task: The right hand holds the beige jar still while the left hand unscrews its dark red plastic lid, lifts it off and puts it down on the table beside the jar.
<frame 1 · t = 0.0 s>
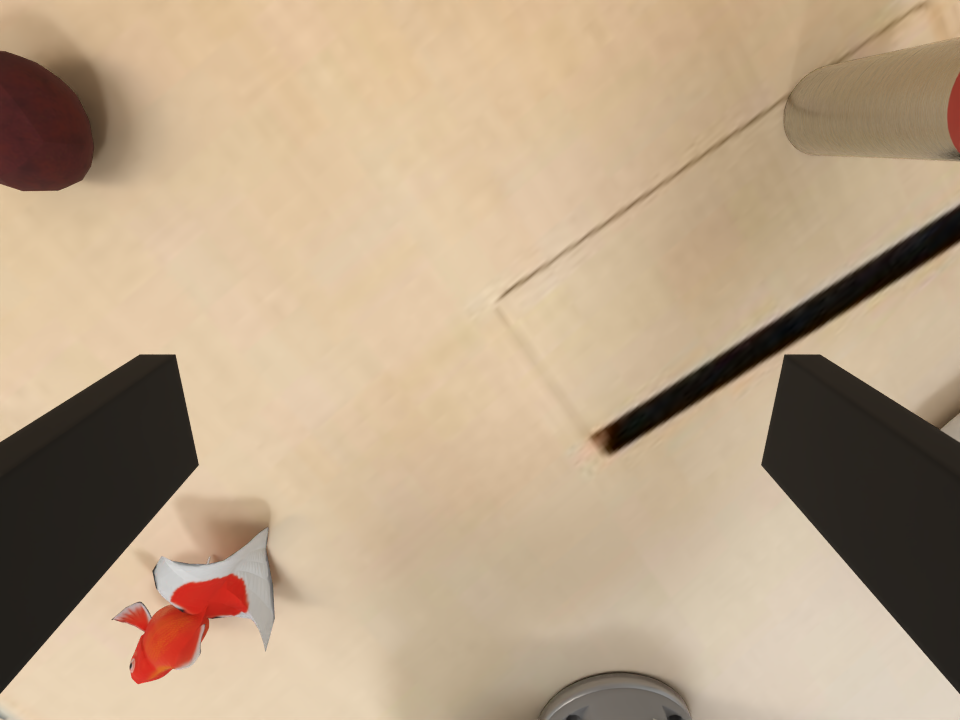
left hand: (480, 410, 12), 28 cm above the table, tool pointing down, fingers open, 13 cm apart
jar: (825, 111, 36), on the table
dark red ball: (62, 127, 36), on the table
fish: (220, 567, 49), on the table
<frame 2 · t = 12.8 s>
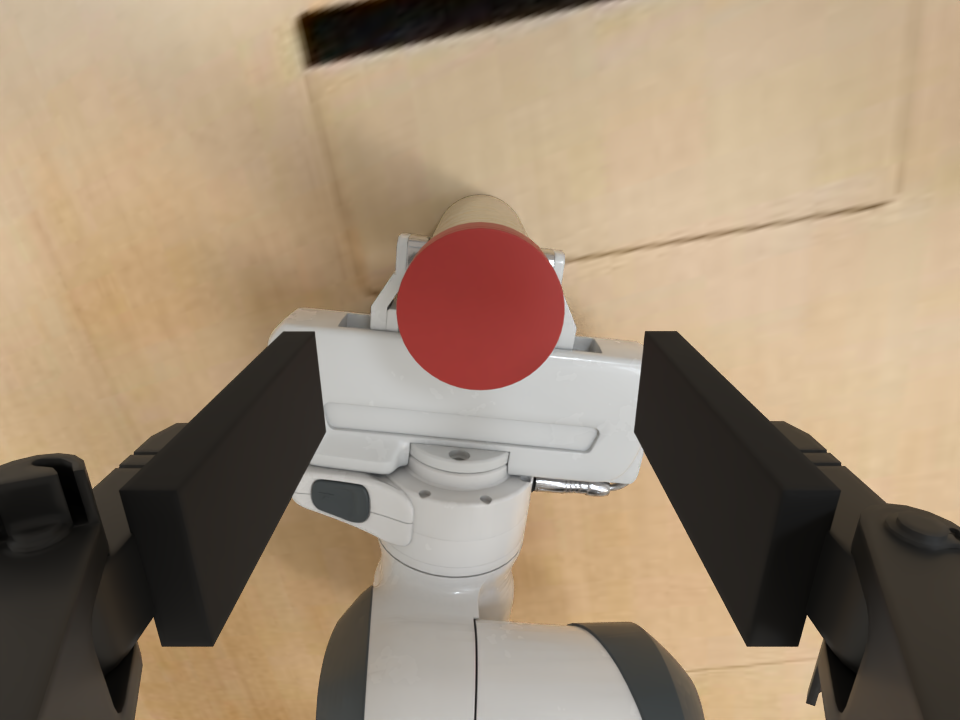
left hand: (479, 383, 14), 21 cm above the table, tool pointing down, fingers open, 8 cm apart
right hand: (481, 243, 27), fingers closed on jar, 5 cm apart
jar: (480, 240, 34), on the table, touching right hand
lid: (480, 311, 20), point 15 cm above the table, screwed on, not yet turned
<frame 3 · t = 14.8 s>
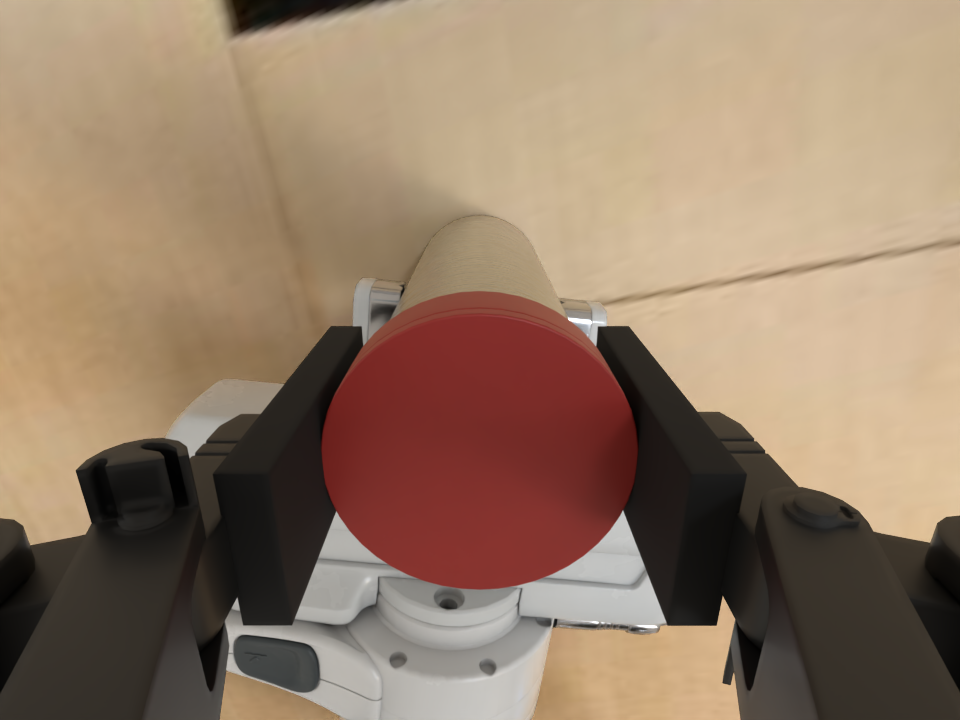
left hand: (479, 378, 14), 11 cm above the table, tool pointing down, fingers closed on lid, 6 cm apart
jar: (479, 276, 25), on the table, touching right hand
lid: (479, 456, 11), point 15 cm above the table, screwed on, not yet turned, touching left hand
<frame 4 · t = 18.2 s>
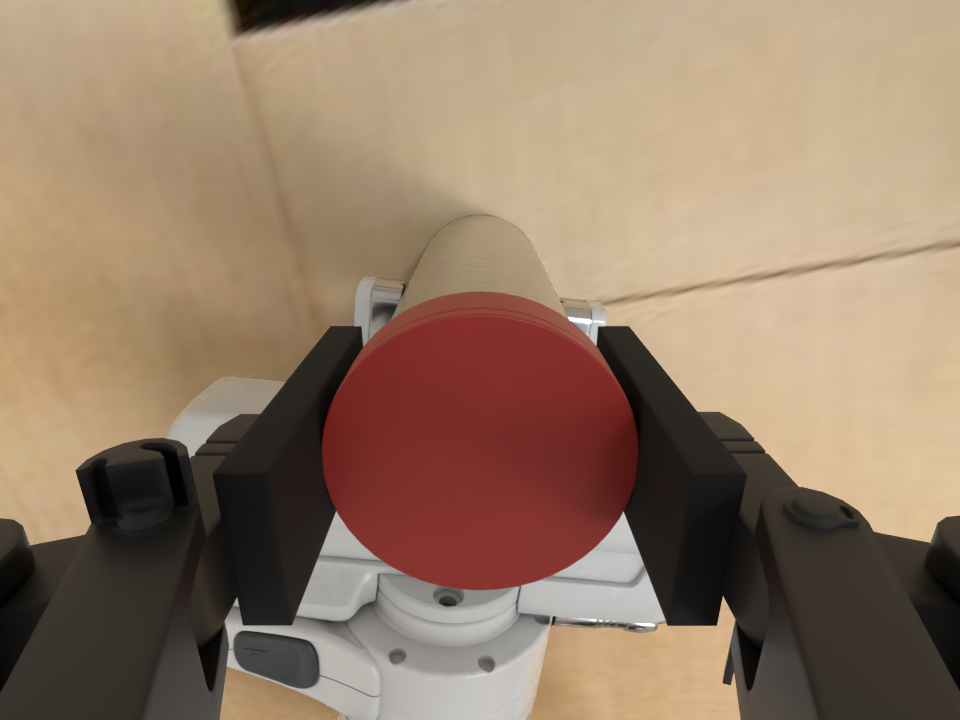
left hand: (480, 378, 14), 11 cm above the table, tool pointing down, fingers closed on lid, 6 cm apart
jar: (479, 275, 25), on the table, touching right hand
lid: (480, 456, 11), point 15 cm above the table, turned 112° so far, risen 0.1 cm, still on its thread, touching left hand
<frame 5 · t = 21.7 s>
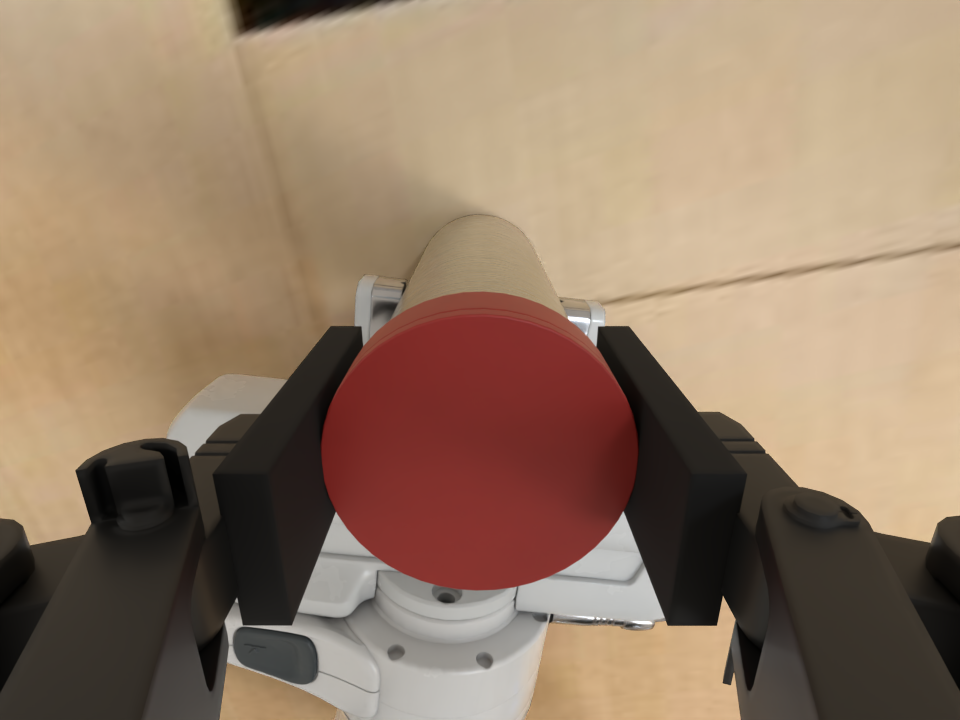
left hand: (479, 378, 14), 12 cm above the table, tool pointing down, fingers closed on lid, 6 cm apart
jar: (479, 275, 25), on the table, touching right hand
lid: (479, 457, 11), point 15 cm above the table, turned 224° so far, risen 0.3 cm, still on its thread, touching left hand
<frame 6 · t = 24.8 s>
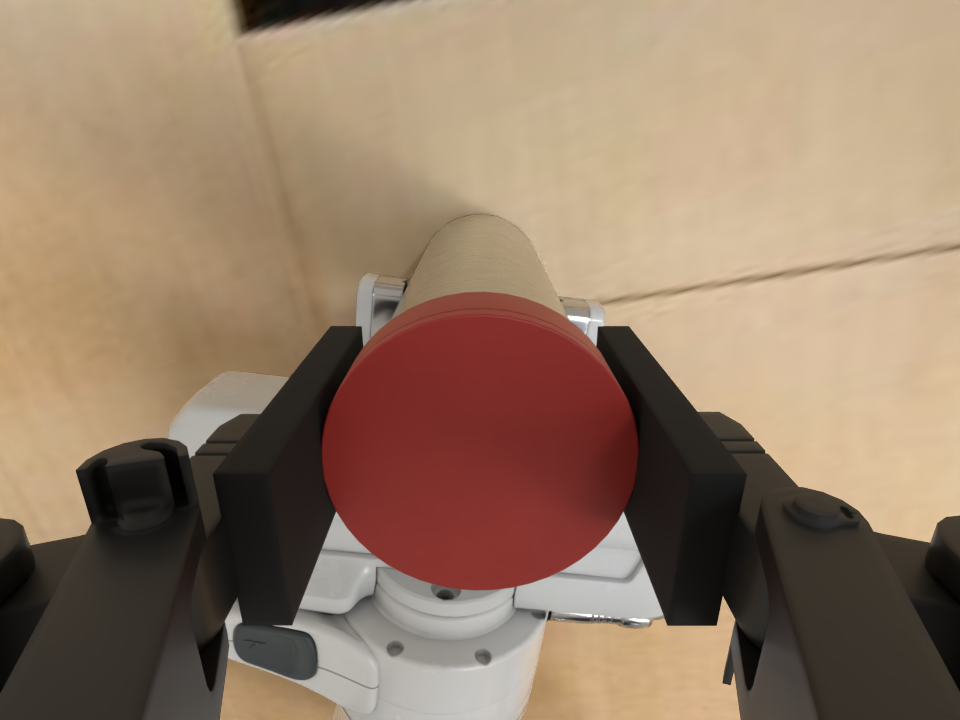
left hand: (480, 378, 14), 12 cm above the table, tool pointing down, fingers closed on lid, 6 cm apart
jar: (480, 274, 25), on the table, touching right hand
lid: (480, 457, 11), point 16 cm above the table, turned 336° so far, risen 0.4 cm, still on its thread, touching left hand
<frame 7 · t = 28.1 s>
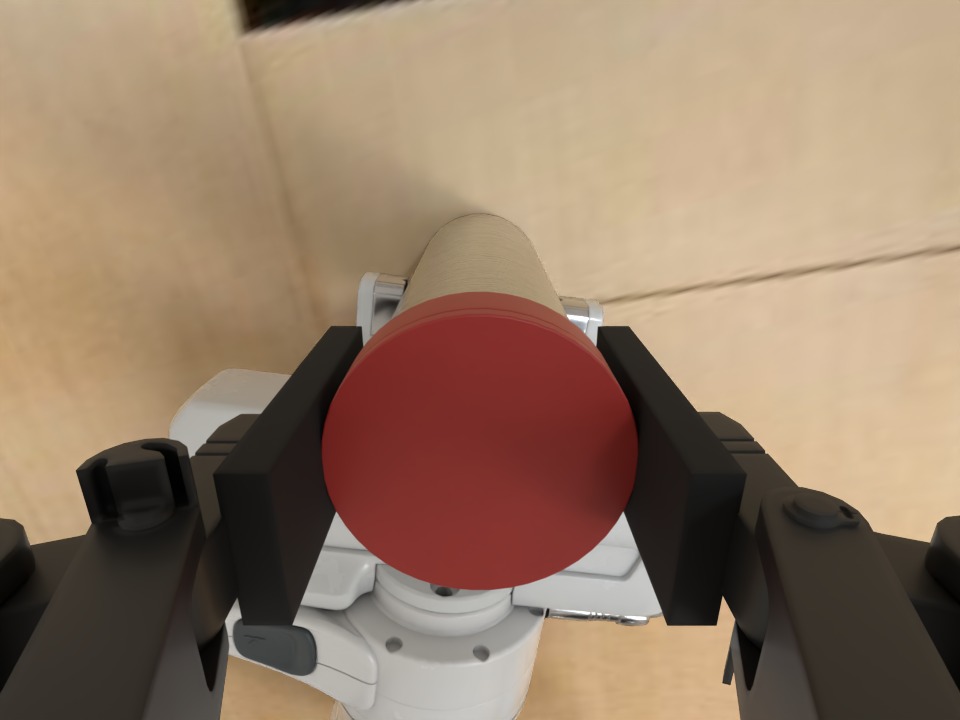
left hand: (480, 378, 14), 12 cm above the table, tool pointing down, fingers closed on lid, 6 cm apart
jar: (479, 273, 25), on the table, touching right hand
lid: (479, 456, 11), point 16 cm above the table, turned 448° so far, risen 0.6 cm, still on its thread, touching left hand
when the left hand's fingers open (0 cm above the table, at t = 35.3 s): lid drops 3 cm, point 1 cm above the table.
when the right hand's fingers open (6 cm above the table, at t = 35.9 s): jar stays where it is, on the table.
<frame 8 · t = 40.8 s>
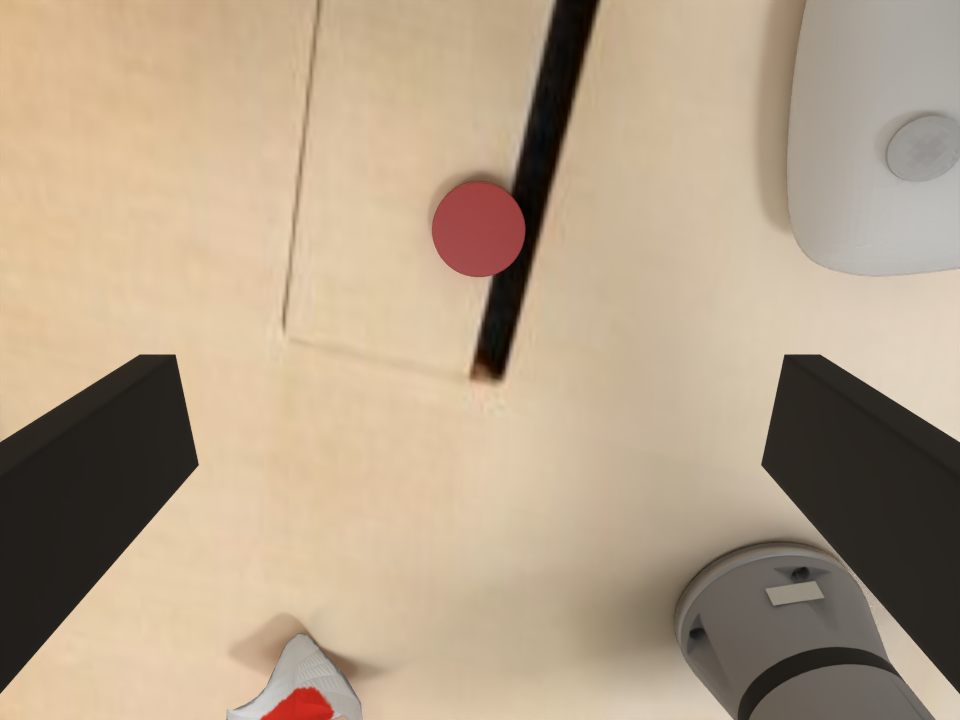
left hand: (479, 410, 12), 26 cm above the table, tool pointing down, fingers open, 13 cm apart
projector: (897, 54, 33), on the table
lid: (478, 230, 35), point 1 cm above the table, off its thread
fish: (305, 683, 51), on the table
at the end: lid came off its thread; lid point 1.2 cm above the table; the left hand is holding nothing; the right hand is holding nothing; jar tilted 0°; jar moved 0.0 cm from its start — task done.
